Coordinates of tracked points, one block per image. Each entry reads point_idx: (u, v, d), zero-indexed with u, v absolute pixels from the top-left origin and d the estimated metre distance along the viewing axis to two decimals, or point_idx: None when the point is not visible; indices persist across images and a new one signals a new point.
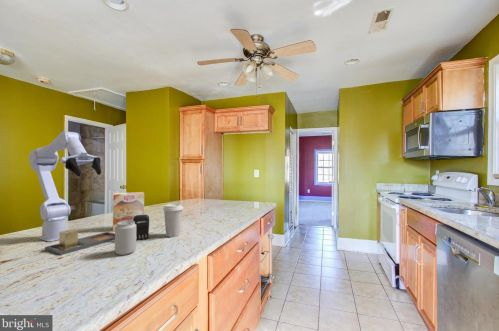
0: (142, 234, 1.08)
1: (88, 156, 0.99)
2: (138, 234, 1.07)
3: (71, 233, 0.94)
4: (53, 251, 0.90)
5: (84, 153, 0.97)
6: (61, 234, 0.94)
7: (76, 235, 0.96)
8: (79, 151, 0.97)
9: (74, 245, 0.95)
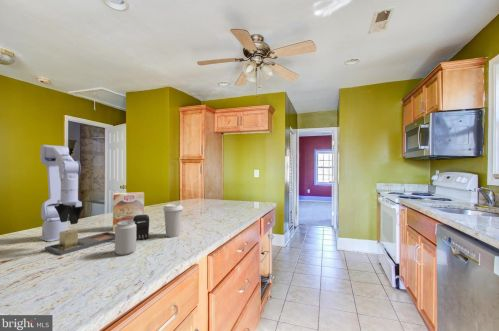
0: (142, 234, 1.08)
1: (66, 203, 0.93)
2: (138, 234, 1.07)
3: (71, 233, 0.94)
4: (53, 251, 0.90)
5: None
6: (61, 234, 0.94)
7: (76, 235, 0.96)
8: (60, 197, 0.94)
9: (74, 245, 0.95)
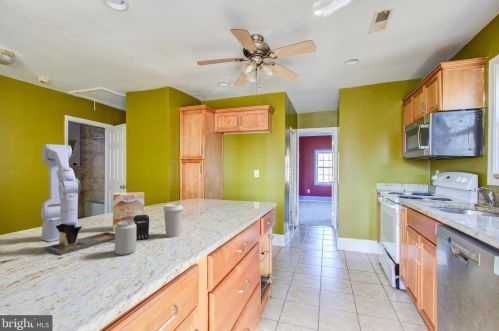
0: (142, 234, 1.08)
1: (65, 223, 0.93)
2: (138, 234, 1.07)
3: None
4: (53, 251, 0.90)
5: None
6: (61, 234, 0.94)
7: None
8: (60, 217, 0.94)
9: (74, 245, 0.95)
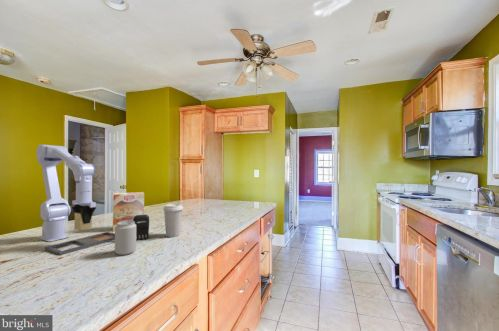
0: (142, 234, 1.08)
1: (81, 204, 0.98)
2: (138, 234, 1.07)
3: None
4: (53, 251, 0.90)
5: (74, 203, 0.97)
6: (76, 214, 0.99)
7: None
8: None
9: (88, 225, 1.00)
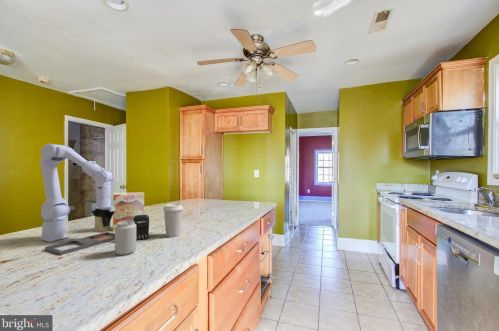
0: (142, 234, 1.08)
1: None
2: (138, 234, 1.07)
3: None
4: (53, 251, 0.90)
5: (95, 208, 1.05)
6: (96, 218, 1.06)
7: None
8: (96, 203, 1.06)
9: (107, 228, 1.08)
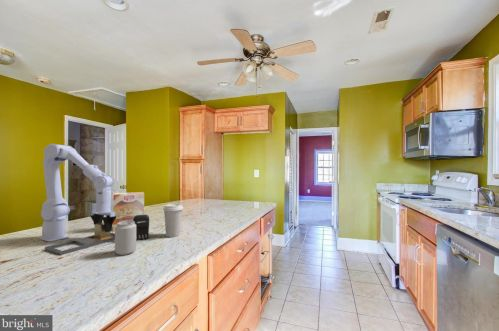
0: (142, 234, 1.08)
1: (101, 213, 1.05)
2: (138, 234, 1.07)
3: None
4: (53, 251, 0.90)
5: (95, 213, 1.05)
6: (96, 226, 1.06)
7: None
8: (96, 208, 1.06)
9: (107, 235, 1.08)
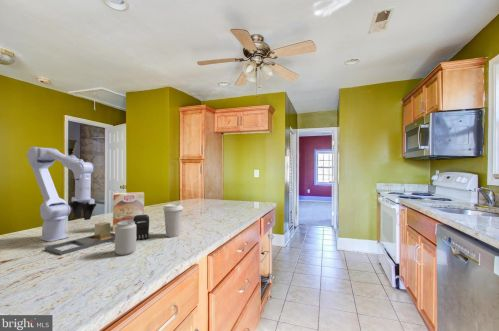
0: (142, 234, 1.08)
1: (80, 200, 1.02)
2: (138, 234, 1.07)
3: (105, 225, 1.07)
4: (53, 251, 0.90)
5: (73, 200, 1.01)
6: (96, 226, 1.06)
7: (109, 227, 1.08)
8: (75, 195, 1.02)
9: (107, 235, 1.08)
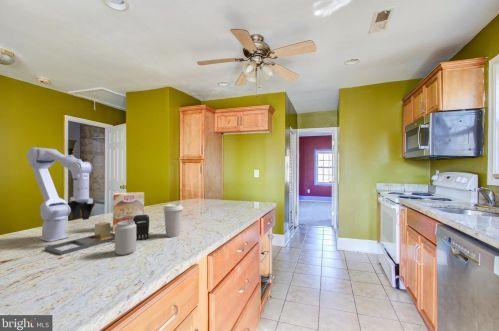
0: (142, 234, 1.08)
1: (78, 200, 1.01)
2: (138, 234, 1.07)
3: (105, 225, 1.07)
4: (53, 251, 0.90)
5: None
6: (96, 226, 1.06)
7: (109, 227, 1.08)
8: (73, 195, 1.02)
9: (107, 235, 1.08)
